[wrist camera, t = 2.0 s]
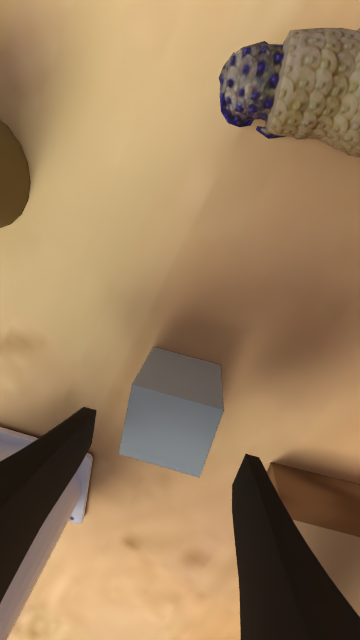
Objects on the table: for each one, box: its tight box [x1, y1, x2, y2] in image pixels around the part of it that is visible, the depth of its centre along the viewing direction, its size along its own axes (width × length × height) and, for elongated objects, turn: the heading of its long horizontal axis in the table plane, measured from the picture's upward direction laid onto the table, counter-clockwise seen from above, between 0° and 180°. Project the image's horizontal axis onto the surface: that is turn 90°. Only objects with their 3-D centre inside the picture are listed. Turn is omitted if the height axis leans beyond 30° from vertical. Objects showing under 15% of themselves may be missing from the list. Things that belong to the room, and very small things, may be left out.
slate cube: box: [119, 347, 224, 478], centre depth 14 cm, size 4×4×4 cm
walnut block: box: [267, 463, 360, 617], centre depth 17 cm, size 8×8×4 cm
